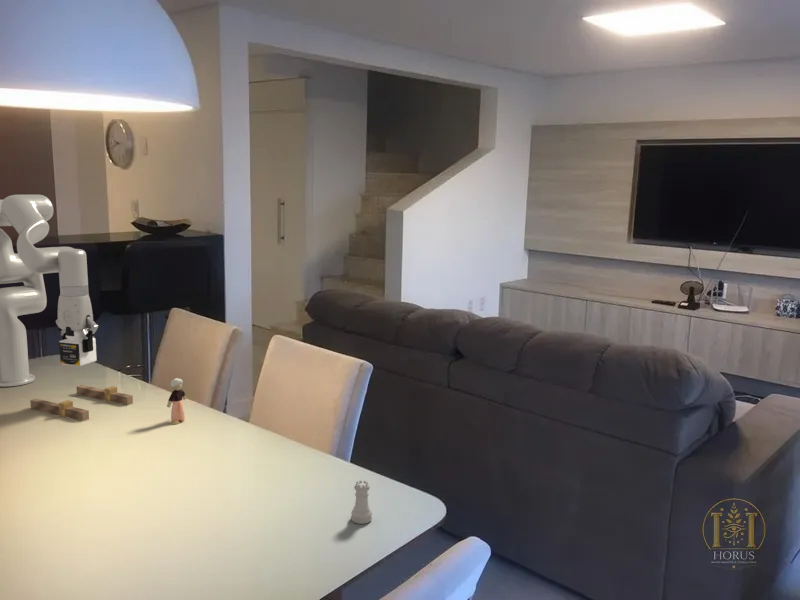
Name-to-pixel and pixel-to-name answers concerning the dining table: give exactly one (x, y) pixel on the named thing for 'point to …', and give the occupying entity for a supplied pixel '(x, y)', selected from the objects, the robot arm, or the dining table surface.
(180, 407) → the grandmother figurine
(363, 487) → the rook chess piece
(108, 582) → the dining table surface
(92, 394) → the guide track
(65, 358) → the medicine bottle
